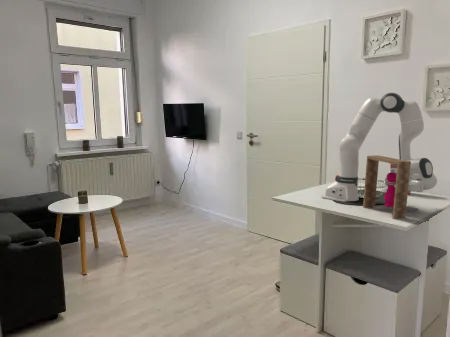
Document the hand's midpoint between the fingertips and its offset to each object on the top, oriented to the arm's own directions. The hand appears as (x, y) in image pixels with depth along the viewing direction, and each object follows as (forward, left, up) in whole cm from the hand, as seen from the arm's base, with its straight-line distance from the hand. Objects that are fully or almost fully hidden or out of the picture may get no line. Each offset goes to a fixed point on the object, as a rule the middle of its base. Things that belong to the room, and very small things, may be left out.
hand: (390, 185), depth 200 cm
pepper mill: (+1, +1, -12) cm, 12 cm away
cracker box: (+2, +54, -15) cm, 56 cm away
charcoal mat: (+9, +10, -15) cm, 20 cm away
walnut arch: (-2, -2, -15) cm, 15 cm away
